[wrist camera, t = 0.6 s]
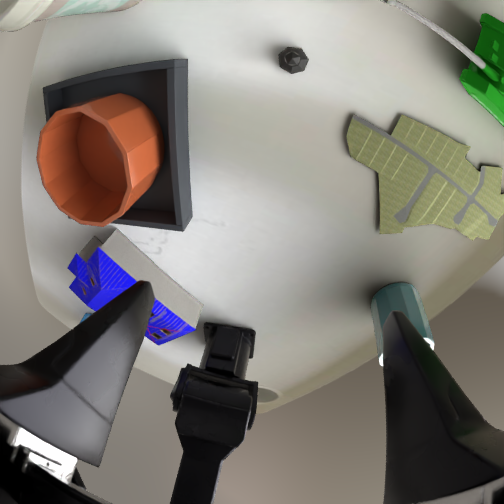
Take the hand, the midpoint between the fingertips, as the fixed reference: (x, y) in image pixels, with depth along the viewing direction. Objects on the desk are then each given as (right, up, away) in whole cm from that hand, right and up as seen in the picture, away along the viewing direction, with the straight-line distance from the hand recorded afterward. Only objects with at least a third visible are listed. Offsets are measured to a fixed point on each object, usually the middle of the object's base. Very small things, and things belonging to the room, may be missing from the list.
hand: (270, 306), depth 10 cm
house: (-15, -2, +22) cm, 27 cm away
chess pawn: (+2, +15, +6) cm, 16 cm away
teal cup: (+15, -3, +18) cm, 23 cm away
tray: (-12, +11, +11) cm, 20 cm away
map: (+15, +7, +10) cm, 19 cm away
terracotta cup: (-12, +11, +11) cm, 20 cm away
